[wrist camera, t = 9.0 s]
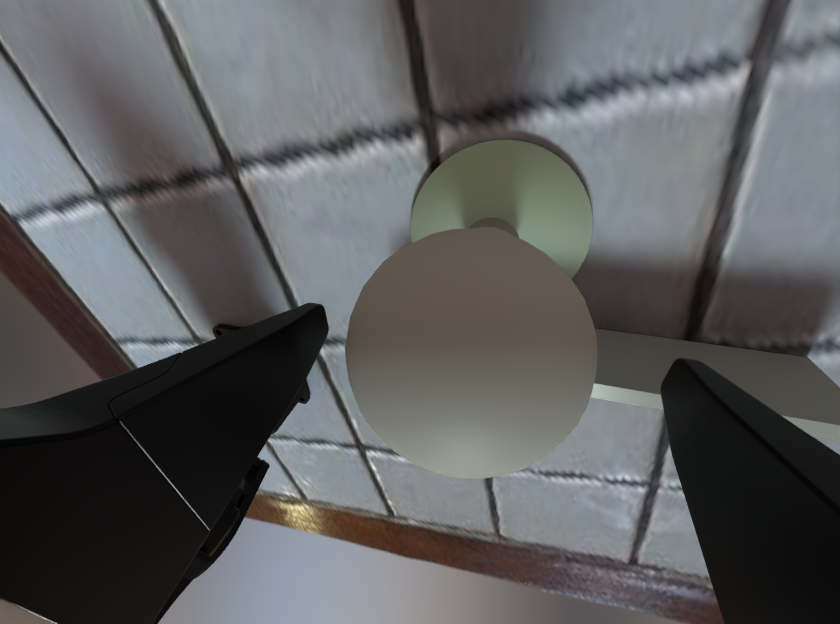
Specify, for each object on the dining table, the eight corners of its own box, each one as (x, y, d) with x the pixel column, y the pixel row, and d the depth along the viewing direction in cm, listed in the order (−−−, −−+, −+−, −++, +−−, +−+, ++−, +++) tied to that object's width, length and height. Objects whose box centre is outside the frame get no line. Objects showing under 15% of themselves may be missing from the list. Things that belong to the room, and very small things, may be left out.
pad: (414, 299, 18) (412, 301, 18) (409, 137, 14) (407, 138, 14) (566, 319, 16) (567, 322, 16) (618, 141, 12) (620, 142, 12)
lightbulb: (480, 134, 13) (372, 227, 4) (598, 226, 13) (731, 482, 5) (404, 249, 16) (261, 431, 8) (500, 317, 17) (471, 558, 8)
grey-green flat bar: (414, 315, 19) (391, 361, 16) (414, 303, 18) (390, 348, 15) (796, 370, 15) (870, 447, 12) (807, 357, 14) (888, 433, 11)
